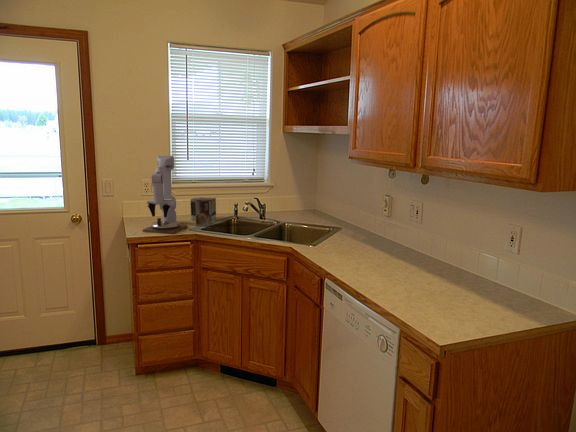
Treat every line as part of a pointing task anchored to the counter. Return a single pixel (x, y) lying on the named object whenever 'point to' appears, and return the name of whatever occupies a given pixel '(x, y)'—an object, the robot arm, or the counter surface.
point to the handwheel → (164, 224)
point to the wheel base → (166, 231)
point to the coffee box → (203, 213)
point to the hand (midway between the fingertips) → (159, 216)
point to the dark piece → (193, 207)
